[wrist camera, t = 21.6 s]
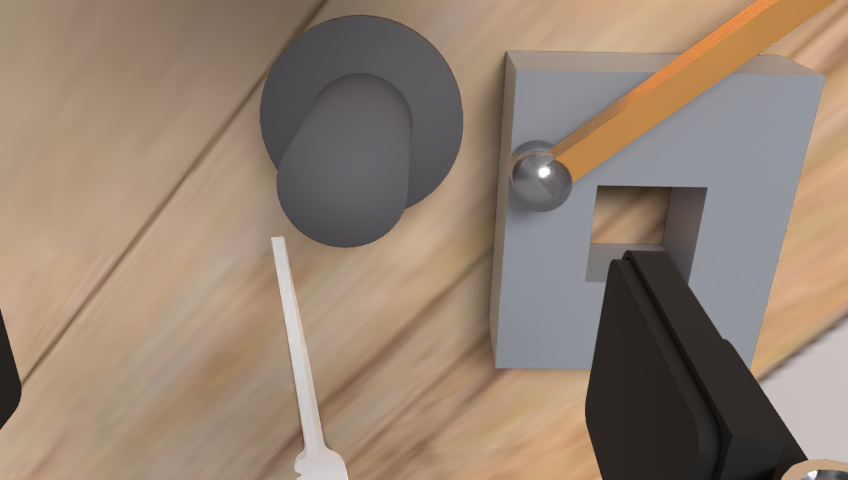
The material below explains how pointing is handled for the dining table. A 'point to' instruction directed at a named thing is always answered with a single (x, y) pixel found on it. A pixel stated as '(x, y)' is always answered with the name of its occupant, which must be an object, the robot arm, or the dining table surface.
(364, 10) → the dining table surface
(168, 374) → the dining table surface
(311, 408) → the fork
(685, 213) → the socket block
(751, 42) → the orange stick
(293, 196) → the plug
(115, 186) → the dining table surface
